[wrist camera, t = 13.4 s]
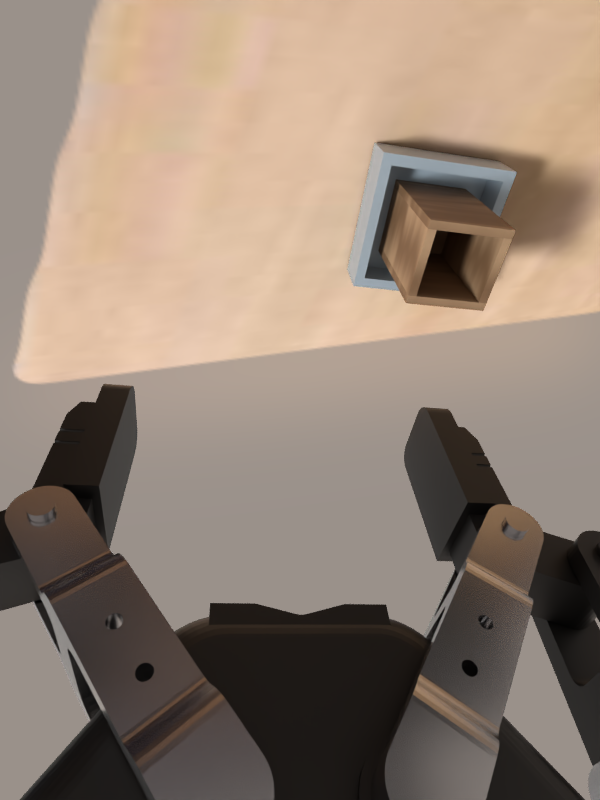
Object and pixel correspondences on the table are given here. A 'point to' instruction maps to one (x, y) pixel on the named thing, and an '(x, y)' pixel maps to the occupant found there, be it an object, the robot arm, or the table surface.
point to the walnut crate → (443, 245)
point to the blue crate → (421, 166)
